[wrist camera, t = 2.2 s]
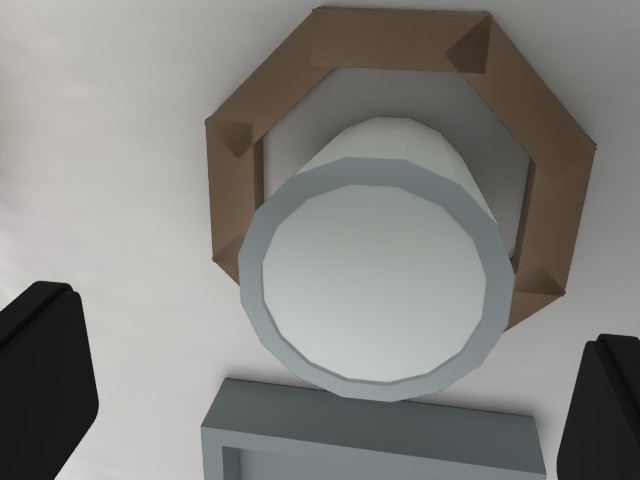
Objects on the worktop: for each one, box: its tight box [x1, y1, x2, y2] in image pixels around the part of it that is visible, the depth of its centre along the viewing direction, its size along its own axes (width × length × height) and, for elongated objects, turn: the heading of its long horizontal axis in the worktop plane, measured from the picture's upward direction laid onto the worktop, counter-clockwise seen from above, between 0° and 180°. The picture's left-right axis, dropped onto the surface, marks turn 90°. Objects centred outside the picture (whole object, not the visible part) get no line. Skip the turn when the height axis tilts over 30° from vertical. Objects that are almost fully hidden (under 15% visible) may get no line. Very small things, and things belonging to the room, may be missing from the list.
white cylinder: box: [238, 117, 515, 402], centre depth 18 cm, size 7×7×7 cm
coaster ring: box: [204, 6, 597, 332], centre depth 21 cm, size 12×12×1 cm
